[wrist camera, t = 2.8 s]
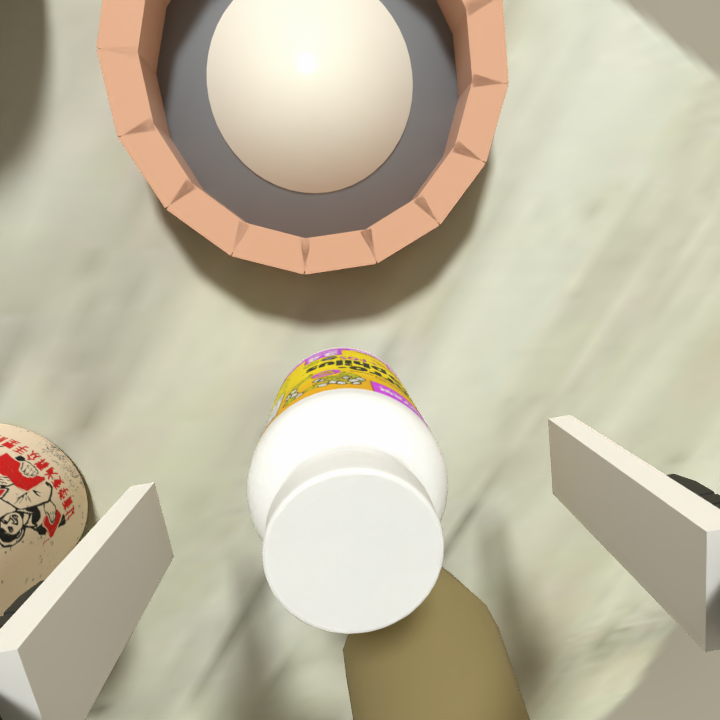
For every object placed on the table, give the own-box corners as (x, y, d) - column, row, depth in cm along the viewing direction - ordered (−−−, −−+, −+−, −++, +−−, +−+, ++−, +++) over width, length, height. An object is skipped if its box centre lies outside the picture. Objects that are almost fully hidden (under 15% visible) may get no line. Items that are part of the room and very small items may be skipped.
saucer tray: (176, 293, 22) (156, 297, 20) (88, -92, 19) (48, -152, 16) (496, 244, 23) (520, 242, 20) (465, -136, 20) (488, -201, 17)
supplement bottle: (422, 367, 24) (527, 479, 11) (378, 479, 25) (430, 693, 13) (300, 325, 23) (269, 396, 11) (260, 443, 24) (189, 634, 12)
